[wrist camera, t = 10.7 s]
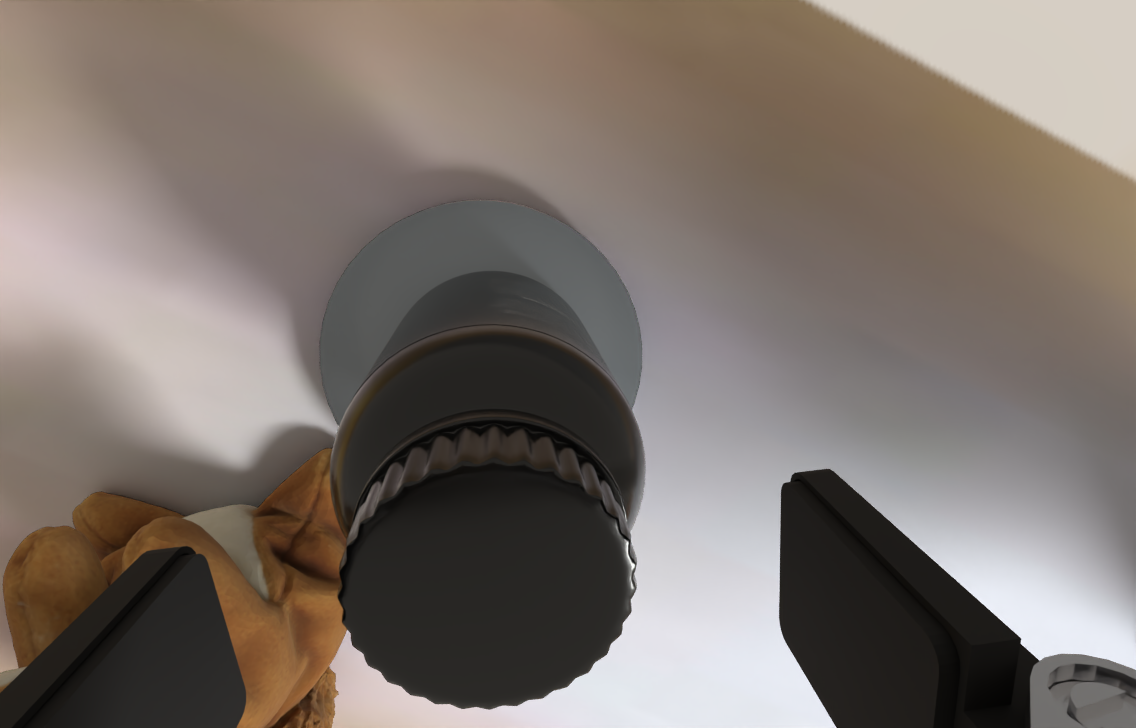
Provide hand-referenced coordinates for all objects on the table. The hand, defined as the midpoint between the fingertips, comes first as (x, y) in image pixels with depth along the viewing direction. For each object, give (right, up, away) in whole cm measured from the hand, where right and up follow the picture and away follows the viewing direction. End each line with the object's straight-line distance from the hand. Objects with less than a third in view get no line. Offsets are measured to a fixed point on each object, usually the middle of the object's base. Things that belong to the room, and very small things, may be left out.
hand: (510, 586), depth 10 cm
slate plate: (-2, +4, +12) cm, 13 cm away
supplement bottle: (-2, +4, +11) cm, 12 cm away
